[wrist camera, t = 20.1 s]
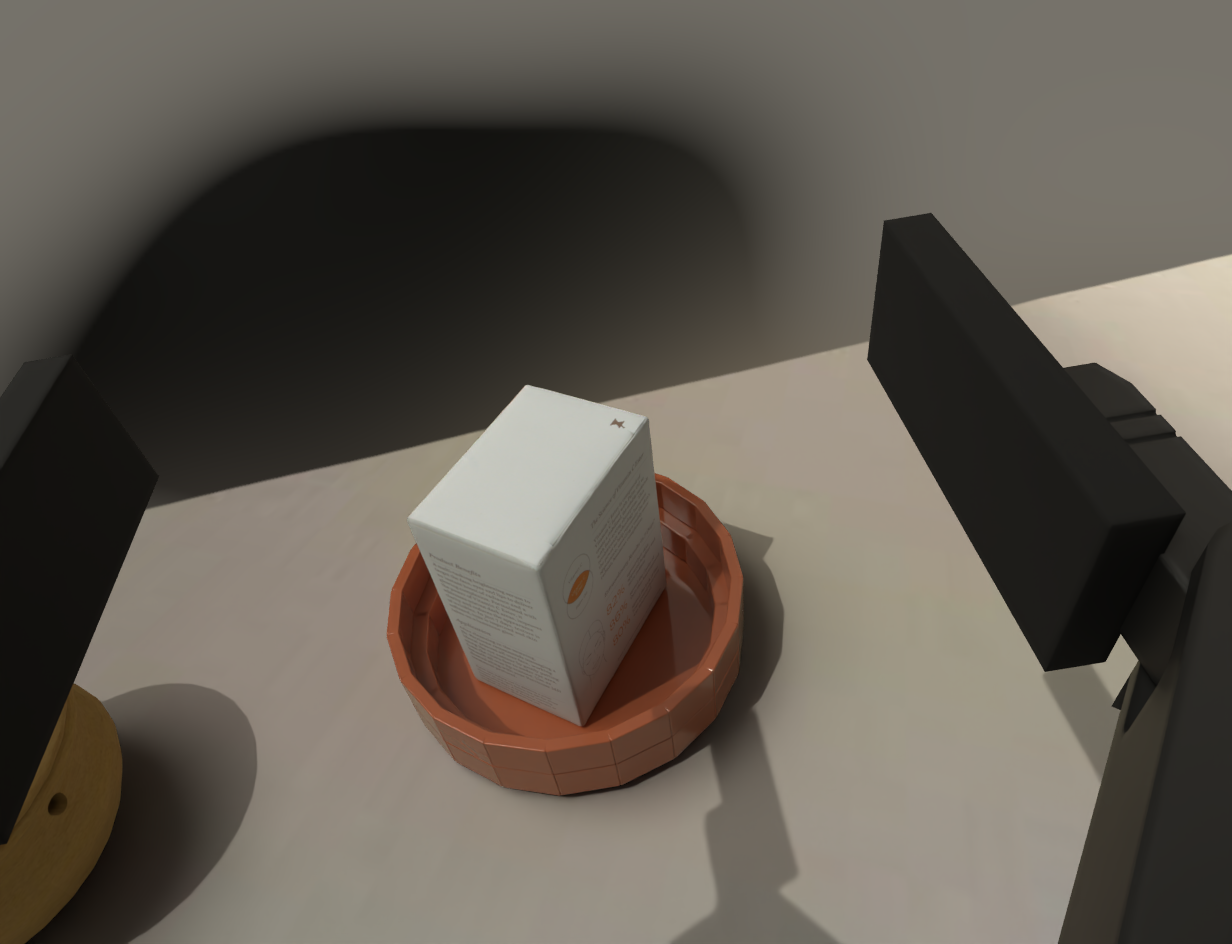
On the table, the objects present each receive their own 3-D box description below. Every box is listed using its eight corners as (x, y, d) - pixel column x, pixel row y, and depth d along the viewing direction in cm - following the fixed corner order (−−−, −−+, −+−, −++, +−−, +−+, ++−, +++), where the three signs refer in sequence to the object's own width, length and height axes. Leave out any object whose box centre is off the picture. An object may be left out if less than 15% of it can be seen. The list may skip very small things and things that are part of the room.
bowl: (705, 497, 42) (702, 439, 39) (780, 765, 32) (783, 712, 29) (424, 543, 42) (400, 488, 39) (404, 828, 31) (371, 781, 29)
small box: (566, 549, 40) (526, 378, 33) (670, 586, 38) (652, 411, 30) (471, 682, 35) (399, 515, 28) (583, 733, 33) (536, 567, 26)
